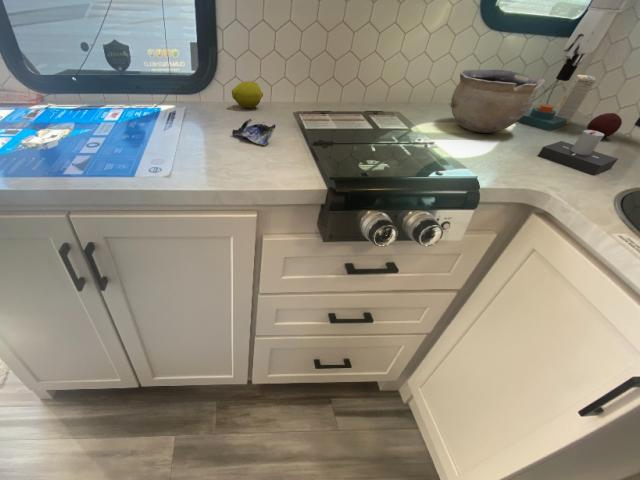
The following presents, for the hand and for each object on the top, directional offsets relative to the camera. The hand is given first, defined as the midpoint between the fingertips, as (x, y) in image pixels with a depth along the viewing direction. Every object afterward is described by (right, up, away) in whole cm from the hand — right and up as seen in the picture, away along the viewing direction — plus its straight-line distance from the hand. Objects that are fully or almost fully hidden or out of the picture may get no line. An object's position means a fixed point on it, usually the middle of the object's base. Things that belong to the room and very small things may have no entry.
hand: (562, 79), depth 109 cm
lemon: (-100, -3, +11) cm, 101 cm away
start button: (0, -7, +6) cm, 9 cm away
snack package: (-99, -24, -10) cm, 102 cm away
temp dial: (-11, -30, -17) cm, 36 cm away
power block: (0, -9, +9) cm, 13 cm away
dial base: (-11, -32, -15) cm, 37 cm away
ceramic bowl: (-26, -14, +3) cm, 30 cm away
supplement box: (+10, -7, +12) cm, 17 cm away
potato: (+11, -18, +1) cm, 21 cm away
